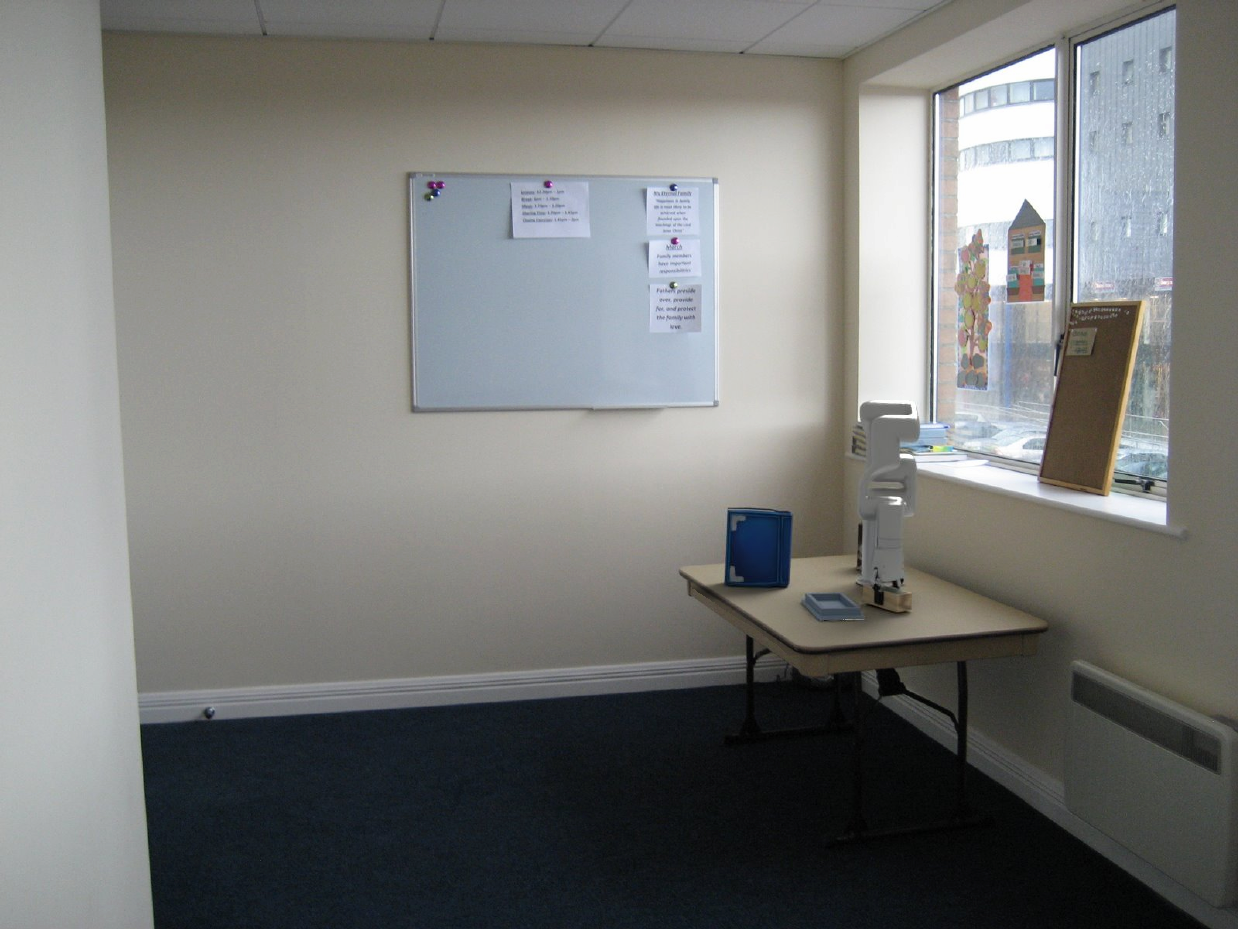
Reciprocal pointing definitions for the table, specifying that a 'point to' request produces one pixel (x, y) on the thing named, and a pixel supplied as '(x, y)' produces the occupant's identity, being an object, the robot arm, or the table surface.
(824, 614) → the blue tray
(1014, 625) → the table surface
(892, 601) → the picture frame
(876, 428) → the robot arm
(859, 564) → the coffee box
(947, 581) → the table surface
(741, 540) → the book
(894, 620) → the table surface
